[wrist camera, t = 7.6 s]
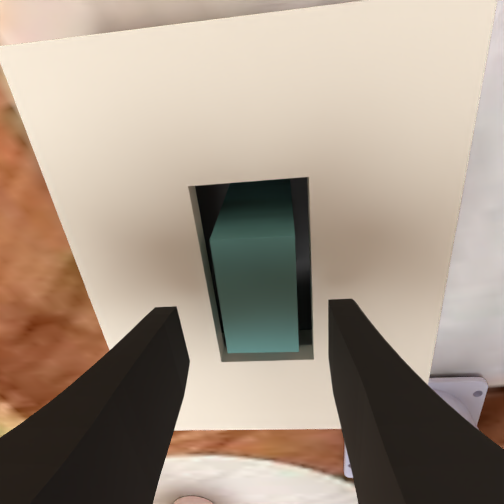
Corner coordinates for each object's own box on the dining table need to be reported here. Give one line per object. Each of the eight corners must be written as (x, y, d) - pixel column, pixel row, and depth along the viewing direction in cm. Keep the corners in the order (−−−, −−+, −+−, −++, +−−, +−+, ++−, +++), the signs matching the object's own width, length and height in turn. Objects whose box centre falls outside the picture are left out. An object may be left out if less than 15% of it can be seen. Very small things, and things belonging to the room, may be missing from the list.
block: (293, 263, 18) (298, 351, 13) (242, 265, 18) (227, 353, 13) (289, 173, 16) (295, 236, 11) (232, 177, 16) (209, 240, 11)
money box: (383, 330, 20) (420, 428, 15) (173, 338, 22) (140, 430, 16) (412, 10, 13) (500, -17, 8) (97, 48, 14) (-6, 46, 9)
